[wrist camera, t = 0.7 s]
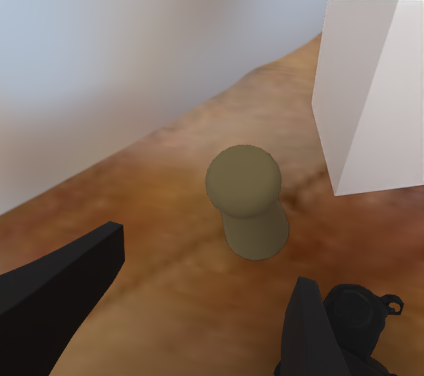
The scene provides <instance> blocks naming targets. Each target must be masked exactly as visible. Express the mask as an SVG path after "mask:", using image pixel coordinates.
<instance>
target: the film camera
mask: <svg viewBox="0 0 424 376" xmlns="http://www.w3.org/2000/svg"><path fill="white" fill-rule="evenodd" d="M393 302H395V303H397V304H399V305H400V308H401V309H400V311H398V312H395V309H394V308H391V307H389V304H390V303H393ZM323 305H324V308H325V311H326V314H327V317H328V320H329V323H330V326H331V328H332V331H333V334H334V336H335V339H336V342H337V344H338V346H339V349H340V351H341V354H342V356H343V358H344V360H345V363H346V365H347V367H348V369H349V371H350V374H351V376H397V375H395V374H390V373H388V371H387V369H386V368H385V367H384V366H383V365H382V364H381V363H379V362H378V361H376V360H375V359H373V358H371V357H370V355H371V353H372V352H373V350H374V348H375V346H376V343H377V341H378V339H379V335H380V333H381V332H382V330H383V329H384V327H385V318H386V317H387V315H401V312H402V309H403V305H404V303H403V302H402V300H401V299H400V298H399V297H398V296H396V295H390V294H386V295H384V296H382V297H378V296H376V295H374V294H373V293H372V292H371V291H370V290H368V289H366V288H364V287H362V286H360V285H353V284H340V285H338V286H335V287H334V288H333V289H332V290H331V291H330V292H329V294H328V296H327V297H326V299H325V300H324V302H323ZM280 366H281V361H280V362H279V364H278V365H277V367H276V368H275V371H274V373H273V374H274V375H275V376H280Z"/></svg>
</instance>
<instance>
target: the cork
mask: <svg viewBox="0 0 424 376" xmlns="http://www.w3.org/2000/svg"><path fill="white" fill-rule="evenodd" d="M206 189H207V194H208V196H209V198H210V200H211V201H212V203H213V205H214V206H215V207H216V208H217V209H218V210H219V211H221V212H222V218H223V225H224V231H225V237H226V241H227V243H228V245H229V246H230V248H231V249H232V250H233V251H234V252H235V253H236V254H237V255H239V256H241V257H243V258H245V259H248V260H263V259H268V258H270V257H272V256H273V255H275V254H277V253H278V252H279V251H280V250H281V249H282V248H283V246H284V245H285V243H286V241H287V238H288V233H289V225H288V222H287V218H286V216H285V213H284V211H283V208H282V206H281V203H280V201H279V198H278V196H279V193H280V191H281V173H280V170H279V166H278V164H277V163H276V161H275V160H274V159H273V157H272V156H271V155H270V154H269V153H267V152H266V151H264V150H263V149H261V148H258V147H255V146H251V145H237V146H233V147H229V148H228V149H226V150H224V151H222V152H221V153H220V154H219V155H218V156H217V157H216V158H215V159H214V160H213V161H212V163H211V164H210V166H209V168H208V170H207V175H206Z"/></svg>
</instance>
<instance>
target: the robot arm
mask: <svg viewBox="0 0 424 376" xmlns="http://www.w3.org/2000/svg"><path fill="white" fill-rule="evenodd" d="M124 262H125V252H124V232H123V225H121V224H118V223H115V222H111V221H109V222H107V223H105V224H104V225H102V226H100V227H98V228H96V229H95V230H93V231H91V232H89V233H88V234H86V235H84V236H82V237H80V238H78V239H77V240H75V241H73V242H71V243H69V244H67V245H66V246H64V247H62V248H60V249H58V250H56V251H54V252H52V253H50V254H48V255H46V256H44V257H42V258H40V259H38V260H35V261H33V262H31V263H29V264H26V265H24V266H22V267H19V268H17V269H15V270H12V271H10V272H7V273H5V274H2V275H0V376H49V374H50V373H51V371H52V369H53V367H54V366H55V364H56V362H57V361H58V359H59V357H60V356H61V354H62V352H63V351H64V349H65V348H66V346H67V344H68V343H69V341H70V339H71V338H72V336H73V335H74V334H75V332H76V331H77V329H78V328H79V326H80V325H81V324H82V323H83V321H84V320H85V319H86V317H87V316H88V315H89V313H90V312H91V311H92V309H93V308H94V307H95V305H96V304H97V303H98V301H99V300H100V299H101V297H102V296H103V295H104V293H105V292H106V291H107V289H108V288H109V287H110V285H111V284H112V282H113V281H114V279H115V278H116V276H117V274H118V272H119V271H120V269H121V267H122V265H123V263H124ZM280 376H351V374H350V371H349V369H348V367H347V365H346V363H345V360H344V358H343V356H342V354H341V351H340V349H339V346H338V344H337V342H336V339H335V336H334V334H333V331H332V328H331V326H330V323H329V320H328V317H327V314H326V311H325V308H324V305H323V302H322V298H321V295H320V291H319V287H318V284H317V282H316V281H314V280H311V279H307V278H304V277H300V276H299V278H298V280H297V283H296V286H295V288H294V291H293V293H292V296H291V299H290V301H289V304H288V307H287V309H286V313H285V320H284V326H283V333H282V344H281V366H280Z"/></svg>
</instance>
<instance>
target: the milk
mask: <svg viewBox="0 0 424 376" xmlns="http://www.w3.org/2000/svg"><path fill="white" fill-rule="evenodd" d="M311 105H312V109H313V113H314V117H315V121H316V125H317V129H318V133H319V137H320V141H321V145H322V149H323V153H324V157H325V161H326V165H327V169H328V173H329V177H330V180H331V184H332V188H333V192H334V196H341V195H349V194H356V193H364V192H372V191H380V190H388V189H395V188H403V187H411V186H419V185H424V0H327V7H326V13H325V19H324V26H323V32H322V39H321V45H320V51H319V58H318V64H317V71H316V77H315V83H314V90H313V96H312V103H311Z"/></svg>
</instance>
